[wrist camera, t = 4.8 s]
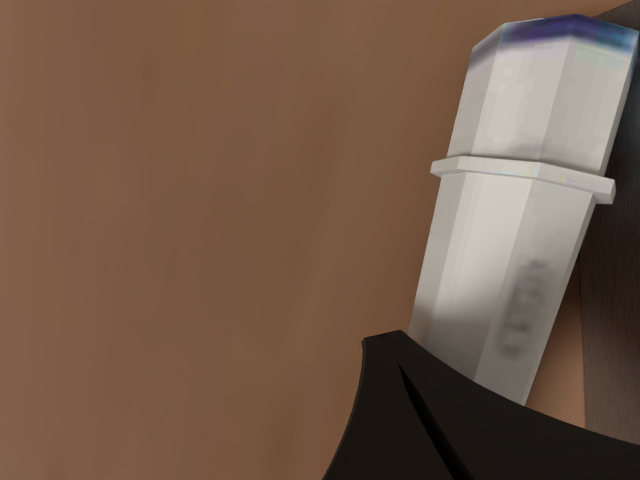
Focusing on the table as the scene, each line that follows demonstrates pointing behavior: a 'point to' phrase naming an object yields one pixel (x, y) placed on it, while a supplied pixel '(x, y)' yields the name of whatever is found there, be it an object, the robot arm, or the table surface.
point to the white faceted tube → (520, 193)
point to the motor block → (615, 275)
